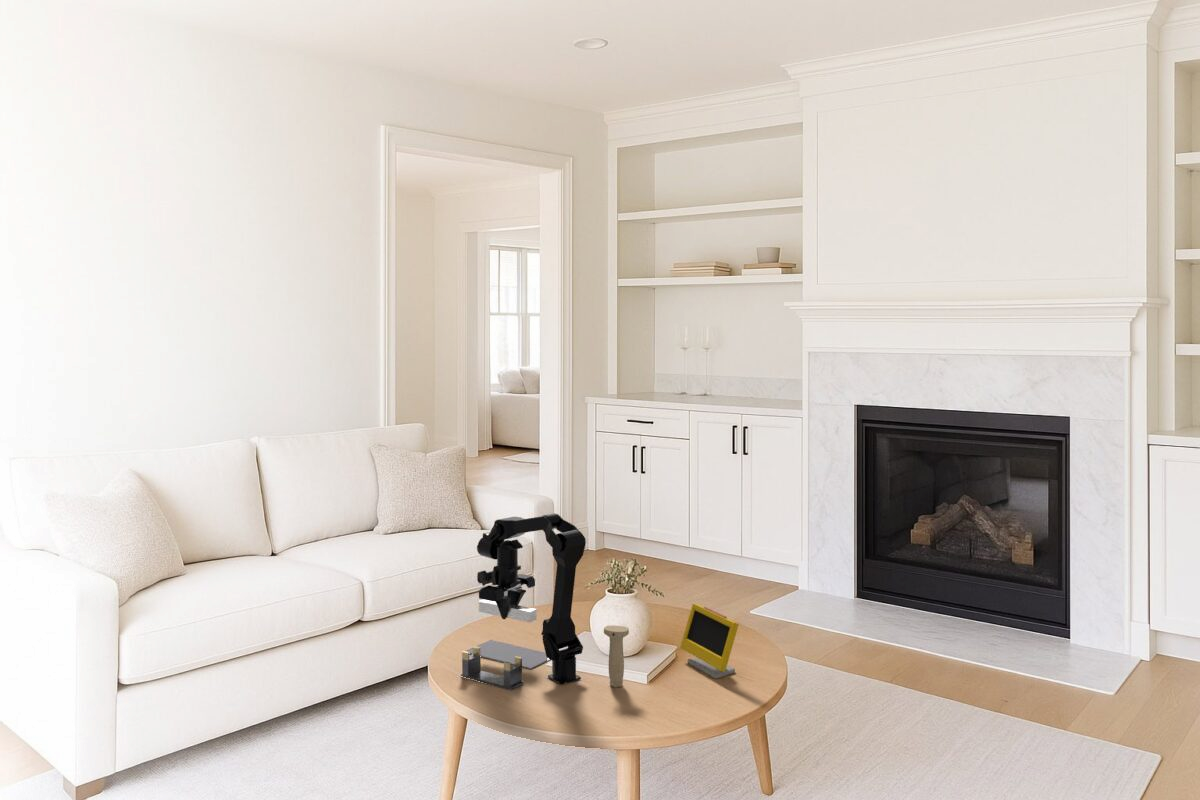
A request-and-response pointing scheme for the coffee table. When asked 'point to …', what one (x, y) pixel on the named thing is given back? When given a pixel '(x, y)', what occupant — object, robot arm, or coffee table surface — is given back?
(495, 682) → the grey stand
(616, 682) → the handle
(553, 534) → the robot arm
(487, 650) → the mat
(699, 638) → the yellow framed monitor
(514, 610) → the rail
